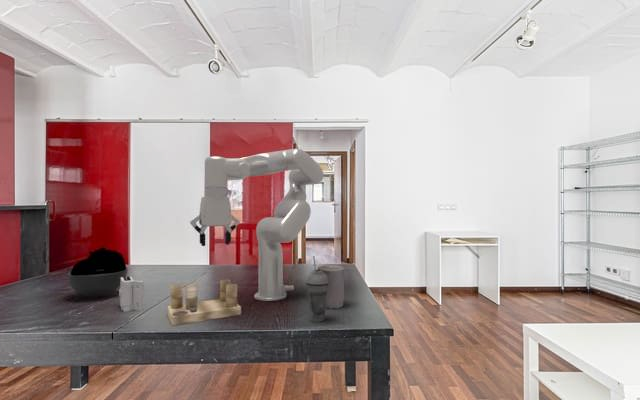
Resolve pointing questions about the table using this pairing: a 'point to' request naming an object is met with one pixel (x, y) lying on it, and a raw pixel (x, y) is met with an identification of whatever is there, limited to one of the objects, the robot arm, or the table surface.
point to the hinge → (131, 294)
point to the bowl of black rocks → (98, 273)
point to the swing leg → (191, 297)
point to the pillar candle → (334, 285)
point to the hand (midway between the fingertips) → (215, 244)
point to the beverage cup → (317, 293)
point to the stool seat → (204, 305)
